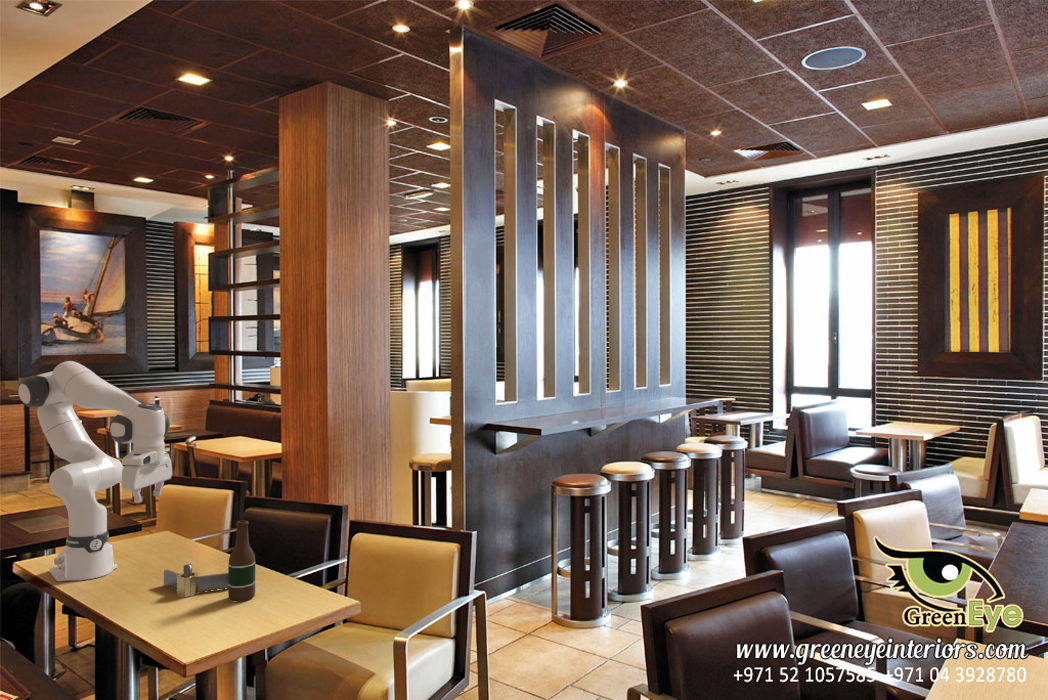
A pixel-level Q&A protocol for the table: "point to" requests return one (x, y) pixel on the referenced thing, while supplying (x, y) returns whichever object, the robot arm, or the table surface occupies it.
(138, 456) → the robot arm
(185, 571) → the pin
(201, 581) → the hinge
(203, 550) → the table surface
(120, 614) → the table surface
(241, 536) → the beer bottle
